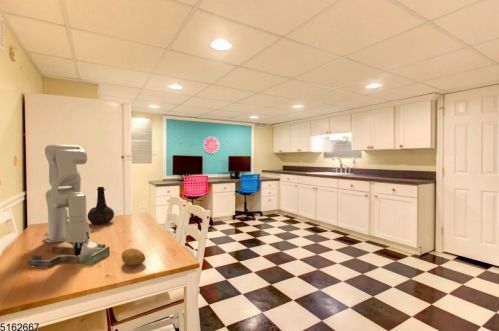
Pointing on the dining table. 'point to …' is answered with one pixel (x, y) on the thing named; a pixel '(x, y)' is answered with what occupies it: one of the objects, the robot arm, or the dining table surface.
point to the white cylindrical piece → (88, 248)
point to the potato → (133, 257)
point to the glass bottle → (100, 210)
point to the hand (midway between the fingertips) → (78, 254)
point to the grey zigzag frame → (69, 257)
